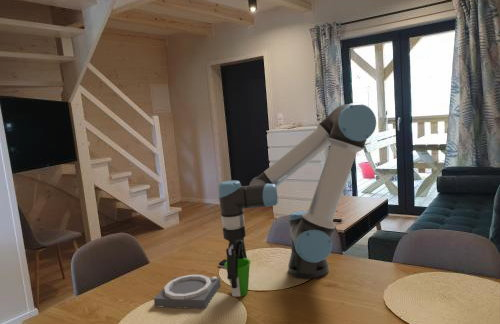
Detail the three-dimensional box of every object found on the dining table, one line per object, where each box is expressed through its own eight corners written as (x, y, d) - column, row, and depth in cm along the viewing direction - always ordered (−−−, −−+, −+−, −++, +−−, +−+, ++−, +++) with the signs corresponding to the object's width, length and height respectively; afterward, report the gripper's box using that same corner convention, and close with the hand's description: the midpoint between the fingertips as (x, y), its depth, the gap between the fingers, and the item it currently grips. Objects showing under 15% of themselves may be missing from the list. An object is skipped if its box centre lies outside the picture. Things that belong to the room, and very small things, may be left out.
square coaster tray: (220, 285, 134) (219, 274, 134) (205, 308, 119) (203, 296, 118) (175, 284, 139) (174, 274, 138) (155, 306, 123) (153, 295, 123)
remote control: (217, 267, 152) (217, 263, 152) (234, 256, 163) (233, 251, 163) (229, 269, 149) (229, 264, 149) (246, 257, 160) (245, 253, 160)
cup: (250, 299, 122) (247, 268, 121) (224, 299, 124) (221, 268, 123) (255, 287, 131) (252, 257, 129) (231, 286, 133) (228, 257, 131)
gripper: (232, 217, 136) (238, 275, 138) (212, 237, 115) (220, 304, 118) (251, 216, 134) (257, 275, 137) (235, 237, 113) (242, 305, 116)
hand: (240, 289), depth 127 cm, fingers closed on cup, 9 cm apart
